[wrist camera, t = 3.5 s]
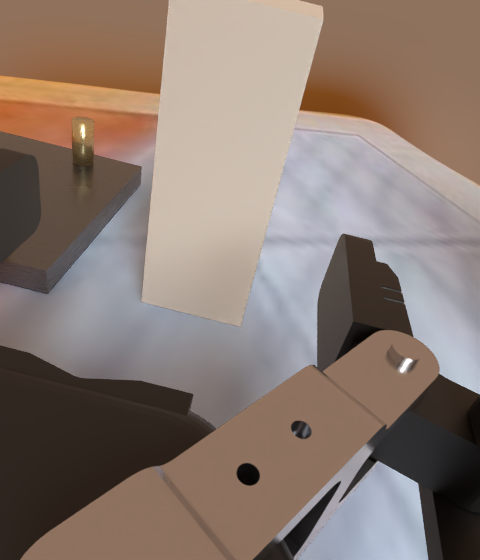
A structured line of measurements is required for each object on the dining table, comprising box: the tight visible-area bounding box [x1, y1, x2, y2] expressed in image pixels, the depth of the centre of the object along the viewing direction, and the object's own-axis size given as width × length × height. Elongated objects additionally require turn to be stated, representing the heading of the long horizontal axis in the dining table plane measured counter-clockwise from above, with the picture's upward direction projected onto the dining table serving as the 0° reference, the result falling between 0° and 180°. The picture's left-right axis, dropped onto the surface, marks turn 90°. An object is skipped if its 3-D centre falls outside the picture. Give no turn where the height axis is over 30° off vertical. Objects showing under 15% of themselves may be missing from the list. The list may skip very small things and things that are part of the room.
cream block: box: [141, 0, 323, 327], centre depth 19 cm, size 4×6×12 cm
